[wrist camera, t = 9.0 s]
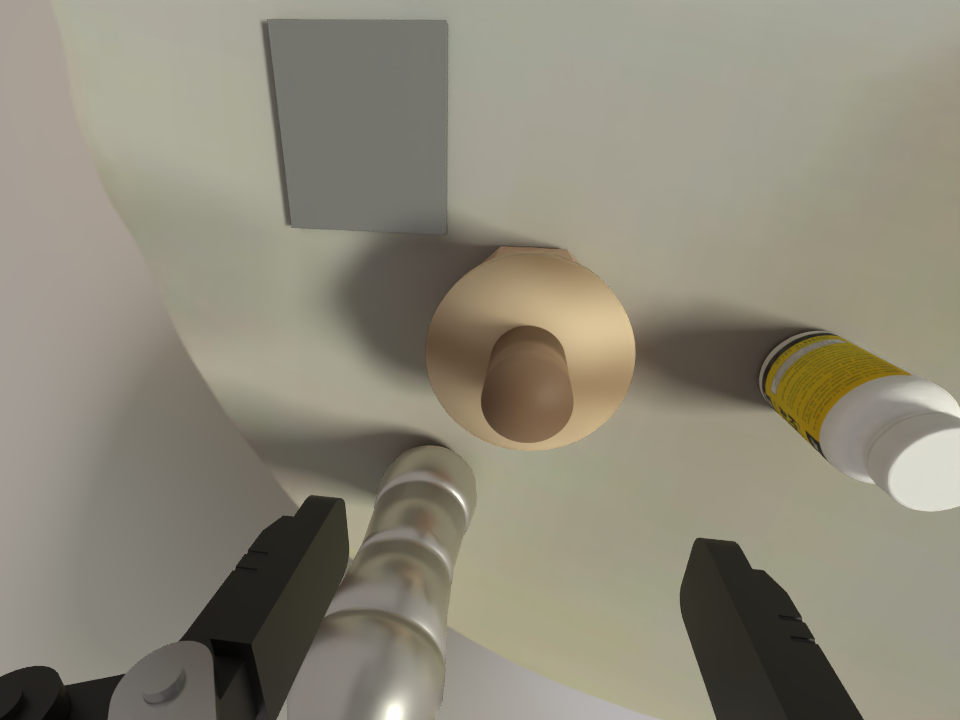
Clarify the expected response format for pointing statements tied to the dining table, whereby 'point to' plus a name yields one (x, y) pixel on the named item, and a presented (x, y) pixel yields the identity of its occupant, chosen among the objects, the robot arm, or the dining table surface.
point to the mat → (363, 122)
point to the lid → (530, 351)
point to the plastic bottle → (393, 600)
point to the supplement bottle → (868, 417)
